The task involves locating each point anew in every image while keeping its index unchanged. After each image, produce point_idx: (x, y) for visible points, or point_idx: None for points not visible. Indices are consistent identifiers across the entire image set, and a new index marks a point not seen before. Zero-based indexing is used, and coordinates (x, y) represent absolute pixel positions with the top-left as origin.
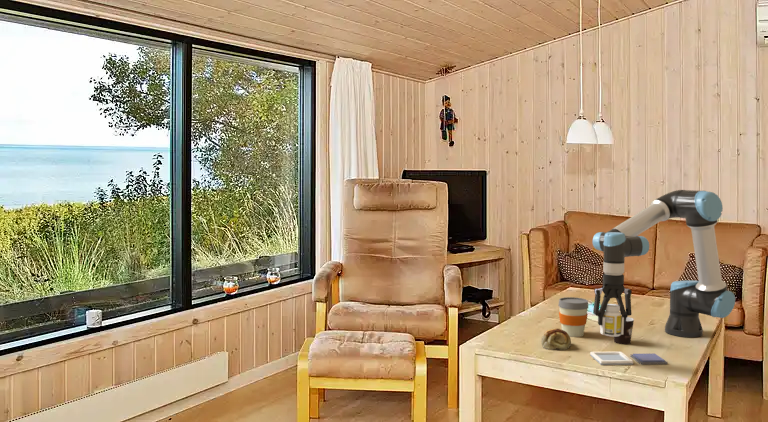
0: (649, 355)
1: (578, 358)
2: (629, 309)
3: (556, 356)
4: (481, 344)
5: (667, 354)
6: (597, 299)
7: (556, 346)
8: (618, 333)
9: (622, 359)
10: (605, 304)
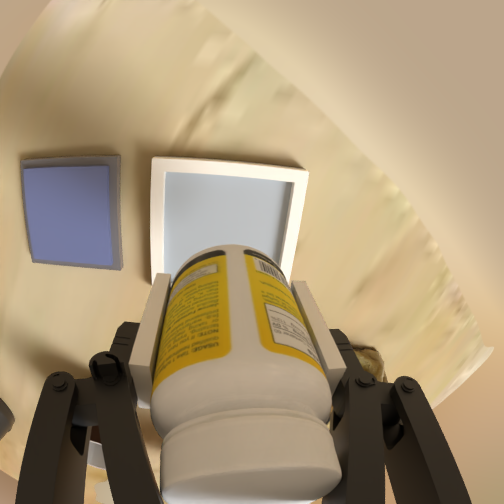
0: (56, 236)
1: (345, 263)
2: (50, 424)
3: (398, 288)
4: (467, 367)
5: (3, 272)
6: (468, 500)
7: (363, 354)
8: (205, 255)
9: (179, 212)
10: (370, 488)
